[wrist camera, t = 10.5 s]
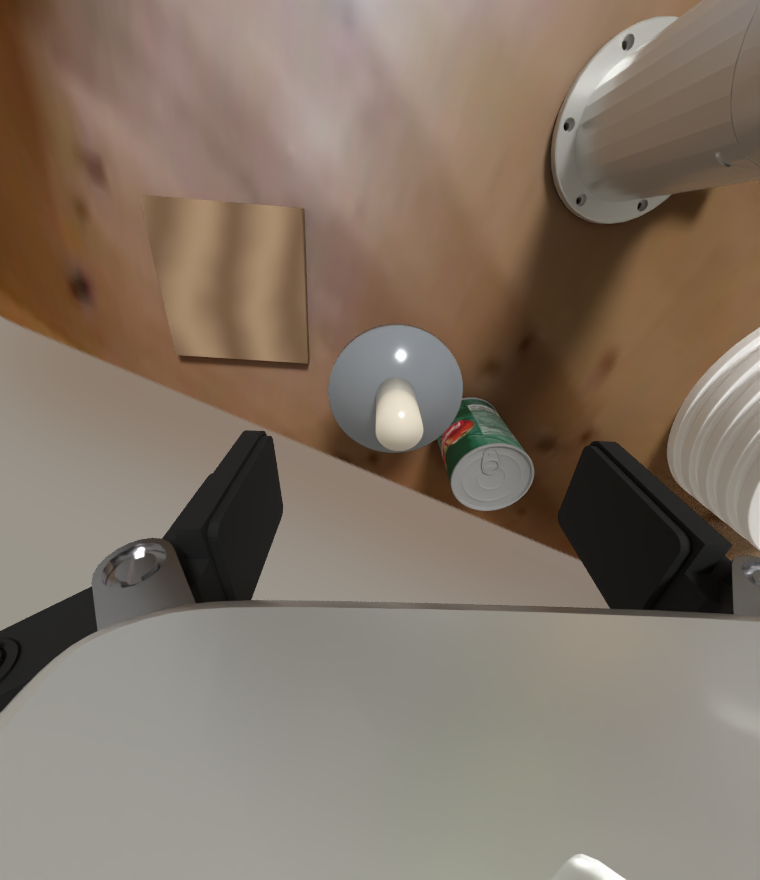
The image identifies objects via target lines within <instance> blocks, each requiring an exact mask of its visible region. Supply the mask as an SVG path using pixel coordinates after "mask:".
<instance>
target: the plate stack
mask: <svg viewBox="0 0 760 880" xmlns="http://www.w3.org/2000/svg"><path fill="white" fill-rule="evenodd" d="M667 460H668V465H669V469H670V471H671V474H672V476H673V478H674V479H675V481H676V482H677V483H678V484H679V485H680V486H681V487H682V488H683V489H684V490H685V491H686V492H687V493H689V494H690V495H691V496H693V497H694V498H695V499H696V500H698V501H699V502H700V503H701V504H702V505H704V506H705V507H706V508H708V509H709V510H711V512H713V513H714V514H715V515H716V516H717V517H718V518H720V519H721V520H722V521H724V522H725V523H726V524H728V525H729V526H730V527H731V528H732V529H733V530H735V531H736V532H737V533H738V534H740V535H741V536H742V537H743V538H745V539H746V540H748V541H749V542H750V543H751V544H752V545H753V546H754V547H756V548H757V549H758V550H759V551H760V328H758V329H757V330H755V331H754V332H752V333H751V334H749V335H748V336H747V337H745V338H744V339H742V340H741V341H740V342H739V343H737V344H736V345H735V346H733V347H732V348H731V349H730V350H729V351H727V352H726V353H725V354H724V355H723V356H722V357H721V358H720V359H719V360H718V361H717V362H715V363H714V364H713V365H712V366H711V368H710V369H709V370H708V371H707V372H706V373H705V374H704V375H703V376H702V377H701V379H700V380H699V381H698V382H697V383H696V385H695V386H694V387H693V389H692V390H691V391H690V393H689V394H688V396H687V397H686V399H685V400H684V402H683V404H682V405H681V407H680V409H679V411H678V413H677V415H676V417H675V420H674V422H673V425H672V427H671V431H670V434H669V439H668V445H667Z"/></svg>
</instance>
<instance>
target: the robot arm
mask: <svg viewBox="0 0 760 880" xmlns="http://www.w3.org/2000/svg"><path fill="white" fill-rule="evenodd" d="M622 44H623V46H624V48H622ZM564 124H565V125H566V126H567V129H566V131H565V130H564ZM551 170H552V175H553V181H554V185H555V187H556V190H557V192H558V195H559V197H560V198H561V200H562V201H563V203H564V204H565V206H566V207H567V208H568V209H569V210H570V211H571V212H572V213H573V214H575V215H576V216H577V217H579V218H581V219H583V220H585V221H588V222H592V223H597V224H613V223H620V222H626V221H629V220H632V219H635V218H637V217H640V216H642V215H644V214H645V213H647V212H649V211H651V210H653V209H654V208H656V207H657V206H658V205H660V204H661V203H662V202H664V201H665V200H666V199H668V198H669V197H670V196H671V195H672V194H676V193H682V192H688V191H694V190H700V189H706V188H712V187H719V186H725V185H731V184H737V183H743V182H749V181H755V180H760V0H702V1H701V2H700V3H698V4H697V5H696V6H694V7H693V8H691V9H690V10H689V11H687V12H686V13H685V14H683V15H682V16H681V17H676V16H659V17H654V18H650V19H647V20H644V21H640V22H638V23H636V24H634V25H633V26H631V27H629V28H627V29H625V30H623V31H622V32H620V33H619V34H618V35H617V36H615V37H614V38H613V39H612V40H610V41H609V42H608V43H607V44H605V45H604V46H603V47H602V48H601V49H600V50H599V51H598V52H597V53H596V54H595V55H594V56H593V57H592V58H591V59H590V60H589V61H588V63H587V64H586V65H585V66H584V68H583V69H582V70H581V72H580V73H579V74H578V76H577V77H576V79H575V81H574V82H573V84H572V86H571V87H570V89H569V91H568V92H567V94H566V97H565V99H564V101H563V104H562V106H561V108H560V111H559V113H558V117H557V121H556V124H555V128H554V131H553V138H552V145H551ZM577 198H578V199H579V202H578V204H576V199H577ZM637 206H638V208H637ZM282 513H283V503H282V496H281V489H280V483H279V476H278V470H277V463H276V456H275V450H274V444H273V439H272V437H271V436H267V435H266V433H265V431H244V432H243V433H242V434H241V435H240V437H239V438H238V440H237V441H236V442H235V444H234V445H233V446H232V448H231V449H230V451H229V452H228V453H227V455H226V456H225V458H224V459H223V460H222V462H221V463H220V464H219V466H218V467H217V468H216V470H215V471H214V473H212V474H210V475H209V476H208V477H207V479H206V480H205V481H204V483H203V484H202V485H201V487H200V488H199V489H198V491H197V492H196V493H195V495H194V496H193V498H192V499H191V500H190V502H189V503H188V504H187V506H186V507H185V508H184V510H183V511H182V512H181V514H180V515H179V517H178V518H177V519H176V521H175V522H174V523H173V525H172V526H171V528H170V529H169V530H168V531H167V533H166V534H165V536H164V537H163V538H162V539H160V538H147V539H141V540H137V541H134V542H131V543H128V544H126V545H124V546H122V547H121V548H118V549H117V550H115V551H114V552H112V553H111V554H110V555H108V556H107V557H106V558H105V559H104V560H103V561H102V562H101V563H100V564H99V565H98V566H97V568H96V570H95V572H94V573H93V577H92V587H90V588H88V589H86V590H83V591H81V592H79V593H77V594H75V595H73V596H72V597H69V598H67V599H65V600H63V601H61V602H59V603H57V604H55V605H53V606H51V607H49V608H47V609H44V610H43V611H40V612H38V613H36V614H34V615H32V616H30V617H28V618H26V619H24V620H22V621H20V622H18V623H16V624H14V625H12V626H10V627H8V628H6V629H4V630H2V631H0V880H760V557H755V556H750V555H744V556H738V557H736V558H734V559H733V560H732V561H730V560H729V559H728V558H727V557H726V556H725V554H726V553H727V551H728V550H729V549H730V548H731V546H732V544H731V543H729V542H728V541H727V540H726V539H725V538H724V537H723V536H722V535H720V534H719V533H718V532H717V531H716V530H715V529H714V528H713V527H711V526H710V525H709V524H708V523H707V522H706V521H705V520H704V519H702V518H701V517H700V516H699V515H698V514H697V513H696V512H695V511H693V510H692V509H691V508H690V507H689V506H688V505H687V504H685V503H684V502H683V501H682V500H681V499H680V498H679V497H678V496H676V495H675V494H674V493H673V492H672V491H671V490H670V489H669V488H667V487H666V486H665V485H664V484H663V483H662V482H661V481H660V480H658V479H657V478H656V477H655V476H654V475H653V474H652V473H651V472H649V471H648V470H647V469H646V468H645V467H644V466H643V465H642V464H640V463H639V462H638V461H637V460H636V459H635V458H634V457H633V456H631V455H630V454H629V453H628V452H627V451H626V450H625V449H624V448H622V447H621V446H620V445H619V444H618V443H616V442H602V441H594V442H592V443H591V444H590V445H589V446H586V447H585V448H584V449H583V451H582V454H581V457H580V459H579V462H578V464H577V467H576V469H575V472H574V475H573V477H572V480H571V482H570V485H569V487H568V490H567V493H566V495H565V498H564V500H563V503H562V505H561V508H560V511H559V513H558V521H559V524H560V526H561V528H562V530H563V531H564V533H565V535H566V536H567V538H568V540H569V541H570V543H571V545H572V546H573V548H574V550H575V551H576V553H577V554H578V556H579V558H580V559H581V561H582V563H583V564H584V566H585V568H586V569H587V571H588V573H589V574H590V576H591V578H592V579H593V581H594V583H595V584H596V586H597V587H598V589H599V591H600V592H601V594H602V596H603V597H604V599H605V601H606V602H607V604H608V606H609V607H610V609H599V608H571V607H570V608H569V607H542V606H540V607H539V606H508V605H473V604H437V603H396V602H395V603H394V602H352V601H288V600H287V601H286V600H284V601H283V600H280V601H279V600H277V601H276V600H251V599H252V596H253V593H254V591H255V588H256V585H257V582H258V579H259V577H260V574H261V572H262V569H263V566H264V564H265V561H266V558H267V555H268V552H269V550H270V547H271V544H272V542H273V539H274V536H275V534H276V531H277V528H278V525H279V523H280V520H281V517H282Z"/></svg>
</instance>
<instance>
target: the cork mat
mask: <svg viewBox="0 0 760 880" xmlns="http://www.w3.org/2000/svg"><path fill="white" fill-rule="evenodd" d="M139 197H140V201H141V206H142V210H143V214H144V219H145V223H146V228H147V232H148V236H149V241H150V245H151V249H152V254H153V258H154V262H155V267H156V271H157V275H158V280H159V284H160V288H161V293H162V297H163V302H164V306H165V310H166V315H167V319H168V323H169V328H170V332H171V336H172V341H173V345H174V349H175V354H176V355H184V356H199V357H215V358H230V359H246V360H261V361H277V362H292V363H308V362H309V332H308V303H307V274H306V245H305V216H304V209H303V208H294V207H282V206H270V205H258V204H245V203H233V202H221V201H209V200H197V199H184V198H172V197H160V196H148V195H139Z"/></svg>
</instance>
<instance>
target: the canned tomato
mask: <svg viewBox="0 0 760 880" xmlns="http://www.w3.org/2000/svg"><path fill="white" fill-rule="evenodd" d="M437 440H438V444H439V447H440V451H441V454H442V457H443V461H444V464H445V467H446V471H447V474H448V477H449V481H450V483H451V488H452V492H453V494H454V496H455V497H456V499H457V500H458V501H459V502H460V503H462V504H463V505H465V506H466V507H469V508H471V509H475V510H480V511H491V510H497V509H501V508H504V507H507V506H509V505H511V504H513V503H514V502H516V501H518V500H519V499H520V498H521V497H522V496H524V494H525V493H526V492H527V491H528V489H529V488H530V486H531V484H532V482H533V479H534V466H533V463H532V461H531V458H530V457H529V456H528V455H527V453H526V452H525V451H524V449H523V448H522V447H521V445H520V444H519V442H518V441H517V439H516V438H515V436H514V435H513V434H512V432H511V431H510V429H509V428H508V427H507V425H506V424H505V422H504V421H503V419H502V418H501V417H500V415H499V414H498V413H497V411H496V409H495V408H494V407H493V405H491V404H490V403H489V402H487V401H485V400H483V399H480V398H472V397H469V398H462V401H461V405H460V408H459V410H458V413H457V415H456V417H455V419H454V420H453V422H452V423H451V425H450V426H449V427H448V429H447V430H446V431H445V432H444V433H443V434H442V435H441V436H439V437H438V438H437Z"/></svg>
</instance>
